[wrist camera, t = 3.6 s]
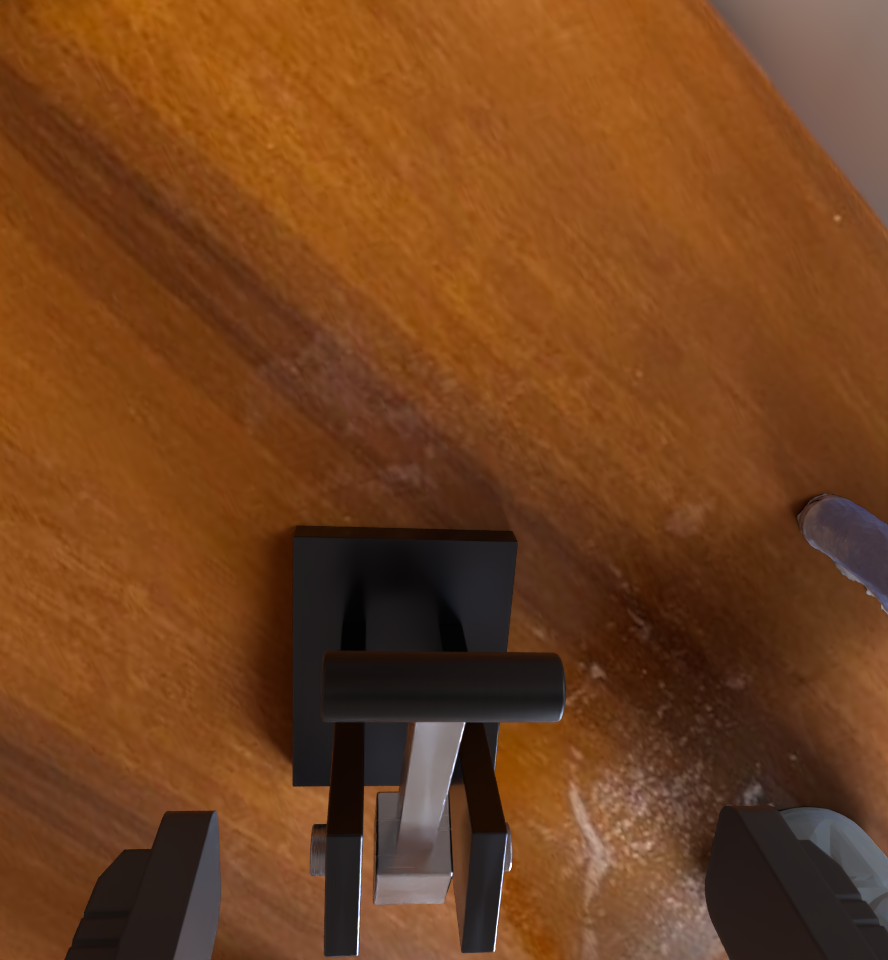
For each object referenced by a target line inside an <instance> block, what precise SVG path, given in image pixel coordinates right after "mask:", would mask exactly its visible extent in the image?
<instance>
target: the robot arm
mask: <svg viewBox="0 0 888 960" xmlns="http://www.w3.org/2000/svg"><path fill="white" fill-rule="evenodd" d="M705 897H706V903H707V908H708V912H709V915H710V918H711V921H712V923H713V925H714V927H715V930H716V932H717V934H718V936H719V938H720V940H721V942H722V944H723V946H724V948H725V951H726V953H727V955H728V957H729V959H730V960H888V931H887V930H886V928H885V927H884V926H881V925H880V924H879V919H878V917H877V916H876V914H875V913H874V912H873V910H872V909H871V907H870V906H869V905H868V903H867V902H866V901H863V900H862V898H861V893H860V892H859V891H858V889H857V888H856V887H855V885H854V884H853V882H852V881H851V880H850V878H849V877H848V875H847V874H846V873H845V871H844V870H843V868H842V867H841V866H840V864H838V863H837V862H836V861H835V860H834V859H832V858H831V857H830V856H829V855H828V854H826V853H825V852H824V851H823V850H821V849H820V848H819V847H818V846H817V845H815V844H814V843H813V842H812V841H811V840H798V839H797V838H796V836H795V835H794V833H793V832H792V830H791V829H790V827H789V826H788V824H787V823H786V821H785V820H784V818H783V817H782V815H781V814H780V813H779V811H778V810H777V809H776V808H774V807H773V806H770V805H755V806H725V807H723V808H722V810H721V812H720V814H719V818H718V823H717V827H716V832H715V836H714V841H713V845H712V850H711V855H710V859H709V864H708V868H707V873H706V878H705ZM220 898H221V880H220V855H219V830H218V815H217V812H216V811H167V812H166V813H165V814H164V816H163V818H162V820H161V823H160V826H159V829H158V832H157V835H156V838H155V840H154V843H153V846H152V849H130V850H124V851H123V852H122V853H121V854H120V855H119V856H118V857H117V858H116V859H115V860H114V862H113V863H112V864H111V865H110V866H109V867H108V868H107V869H106V870H105V871H104V872H103V874H102V875H101V876H100V877H99V878H98V880H97V882H96V884H95V887H94V889H93V892H92V894H91V897H90V899H89V901H88V904H87V906H86V909H85V911H84V917H83V919H81V921H80V923H79V926H78V928H77V930H76V933H75V935H74V938H73V940H72V941H73V942H72V946H71V947H69V950H68V952H67V955H66V957H65V959H64V960H211V956H212V951H213V947H214V942H215V937H216V932H217V927H218V920H219V911H220Z"/></svg>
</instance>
